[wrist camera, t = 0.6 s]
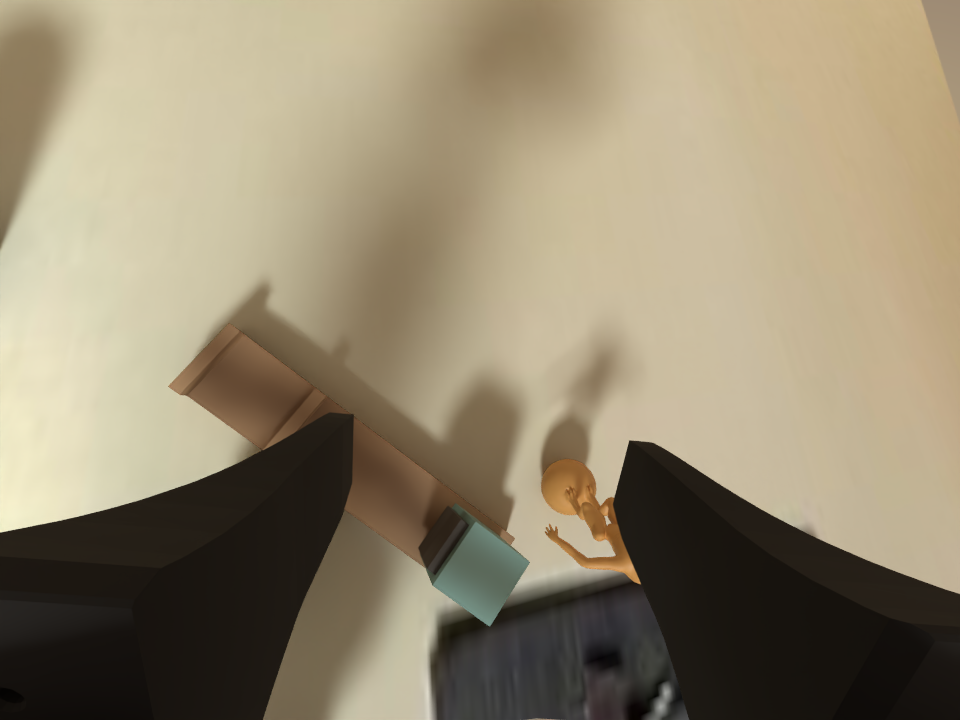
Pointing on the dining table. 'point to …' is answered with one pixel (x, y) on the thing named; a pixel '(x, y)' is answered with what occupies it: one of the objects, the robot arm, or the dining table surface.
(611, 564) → the figurine
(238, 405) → the rail
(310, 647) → the dining table surface
